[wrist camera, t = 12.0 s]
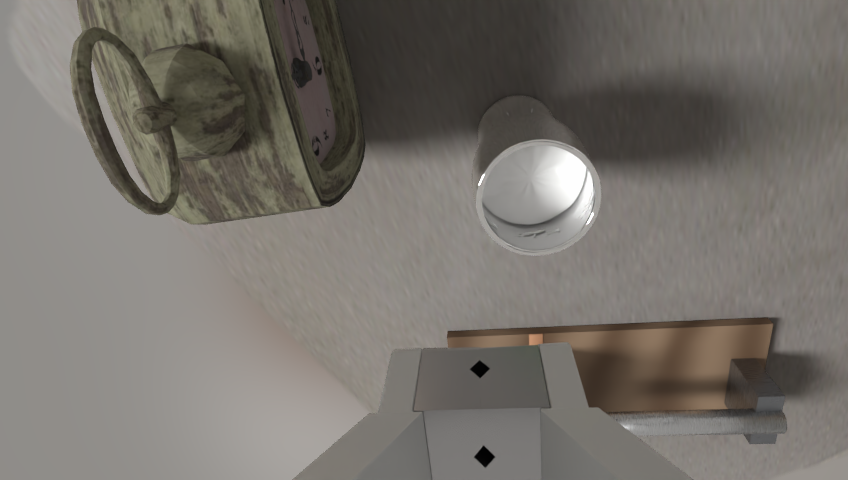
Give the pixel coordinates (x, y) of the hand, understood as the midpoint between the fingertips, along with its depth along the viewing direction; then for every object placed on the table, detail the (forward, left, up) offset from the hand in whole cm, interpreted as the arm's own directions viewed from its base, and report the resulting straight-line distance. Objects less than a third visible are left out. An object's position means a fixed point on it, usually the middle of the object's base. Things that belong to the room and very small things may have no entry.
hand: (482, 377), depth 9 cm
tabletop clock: (+13, -3, -34) cm, 37 cm away
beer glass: (-3, +4, -34) cm, 35 cm away
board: (-10, +28, -34) cm, 45 cm away
